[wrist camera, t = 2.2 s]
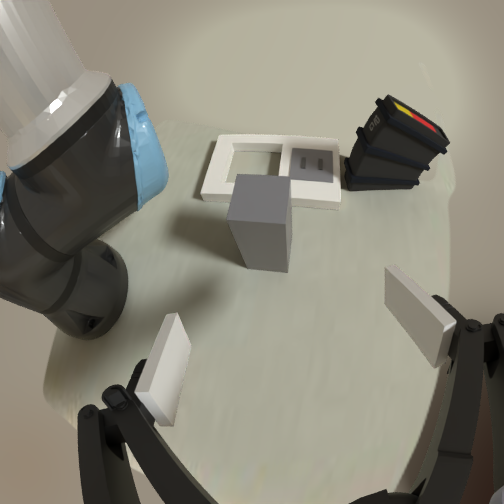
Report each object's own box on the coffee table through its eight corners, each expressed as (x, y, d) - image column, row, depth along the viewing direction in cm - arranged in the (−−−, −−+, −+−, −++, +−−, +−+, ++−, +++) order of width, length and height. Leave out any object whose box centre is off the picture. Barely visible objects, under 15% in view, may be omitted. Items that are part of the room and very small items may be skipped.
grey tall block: (247, 268, 34) (226, 219, 23) (253, 232, 36) (237, 173, 25) (287, 272, 33) (285, 224, 22) (292, 235, 35) (290, 175, 24)
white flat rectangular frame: (204, 201, 39) (199, 191, 37) (222, 143, 44) (218, 133, 41) (338, 210, 36) (341, 200, 33) (337, 147, 40) (338, 137, 38)
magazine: (322, 167, 37) (383, 90, 24) (388, 187, 41) (447, 131, 28) (327, 188, 35) (396, 110, 22) (394, 206, 39) (459, 151, 26)
